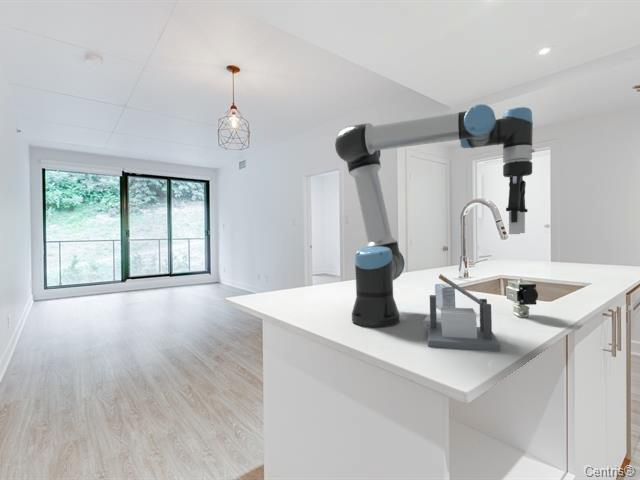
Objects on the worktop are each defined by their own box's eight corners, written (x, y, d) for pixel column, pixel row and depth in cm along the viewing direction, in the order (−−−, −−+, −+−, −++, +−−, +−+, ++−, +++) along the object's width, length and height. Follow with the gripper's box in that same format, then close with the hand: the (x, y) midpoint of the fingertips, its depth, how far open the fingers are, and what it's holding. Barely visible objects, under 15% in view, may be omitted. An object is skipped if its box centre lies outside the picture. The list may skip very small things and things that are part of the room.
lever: (438, 279, 86) (441, 275, 86) (437, 277, 90) (440, 272, 90) (487, 311, 83) (491, 307, 83) (484, 307, 87) (487, 303, 87)
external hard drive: (458, 318, 110) (450, 328, 99) (432, 315, 114) (422, 324, 103) (458, 313, 110) (450, 322, 99) (432, 310, 114) (422, 319, 103)
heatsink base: (428, 346, 83) (427, 304, 83) (427, 329, 96) (426, 293, 96) (500, 351, 78) (499, 306, 78) (489, 332, 91) (488, 294, 91)
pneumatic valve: (520, 311, 112) (519, 275, 112) (539, 321, 101) (538, 281, 100) (502, 311, 113) (501, 276, 113) (519, 321, 101) (519, 281, 101)
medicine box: (456, 311, 115) (455, 286, 115) (442, 312, 115) (442, 287, 115) (447, 306, 123) (446, 283, 123) (435, 307, 123) (434, 283, 123)
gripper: (528, 153, 88) (528, 234, 89) (535, 166, 108) (535, 232, 109) (496, 157, 92) (496, 234, 93) (508, 169, 112) (508, 232, 113)
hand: (517, 233), depth 101 cm, fingers open, 13 cm apart
